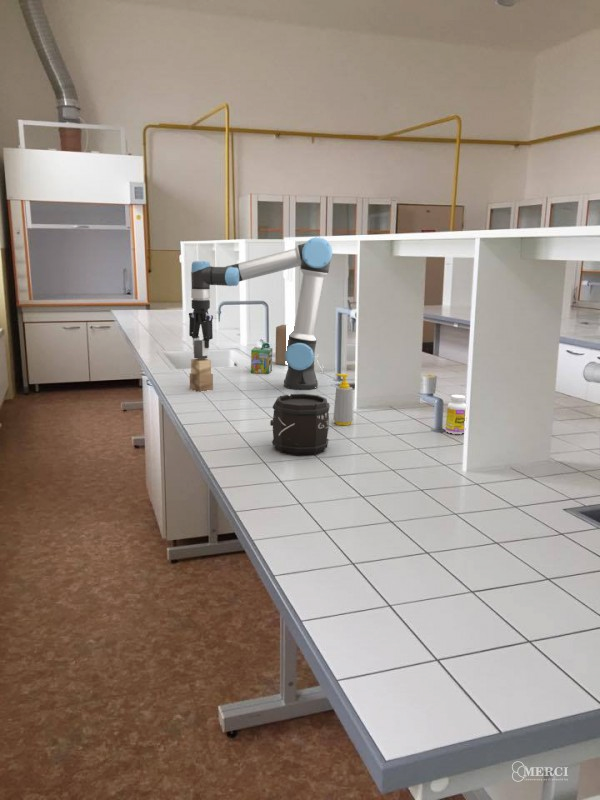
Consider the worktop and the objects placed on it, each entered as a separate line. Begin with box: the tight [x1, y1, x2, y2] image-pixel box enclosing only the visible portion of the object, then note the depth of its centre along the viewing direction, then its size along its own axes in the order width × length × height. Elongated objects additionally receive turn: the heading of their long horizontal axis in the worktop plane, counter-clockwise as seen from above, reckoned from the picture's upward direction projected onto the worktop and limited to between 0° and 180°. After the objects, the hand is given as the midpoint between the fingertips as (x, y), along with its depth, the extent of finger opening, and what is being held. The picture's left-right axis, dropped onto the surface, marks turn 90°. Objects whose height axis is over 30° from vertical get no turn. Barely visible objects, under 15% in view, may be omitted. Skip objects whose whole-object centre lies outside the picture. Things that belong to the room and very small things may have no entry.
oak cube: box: [190, 358, 212, 376], centre depth 287 cm, size 6×6×6 cm
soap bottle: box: [333, 373, 354, 426], centre depth 238 cm, size 7×7×18 cm
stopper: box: [193, 339, 208, 359], centre depth 285 cm, size 6×6×7 cm
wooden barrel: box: [269, 393, 331, 457], centre depth 208 cm, size 18×18×16 cm
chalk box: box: [250, 341, 273, 375], centre depth 329 cm, size 9×9×15 cm
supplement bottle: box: [445, 394, 467, 435], centre depth 231 cm, size 7×7×13 cm
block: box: [275, 324, 287, 365], centre depth 353 cm, size 10×10×20 cm
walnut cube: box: [189, 372, 214, 393], centre depth 288 cm, size 7×7×7 cm
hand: (200, 354), depth 286 cm, fingers closed on stopper, 5 cm apart
